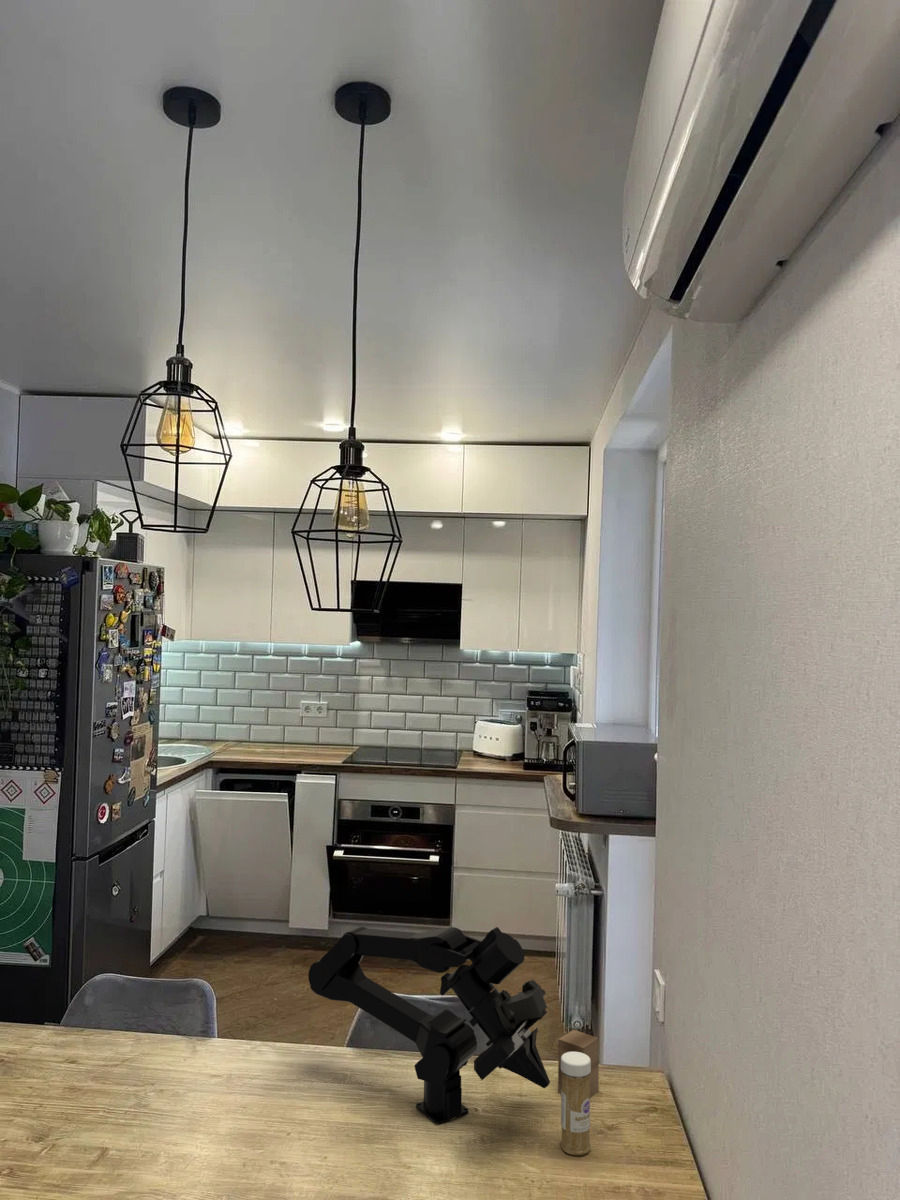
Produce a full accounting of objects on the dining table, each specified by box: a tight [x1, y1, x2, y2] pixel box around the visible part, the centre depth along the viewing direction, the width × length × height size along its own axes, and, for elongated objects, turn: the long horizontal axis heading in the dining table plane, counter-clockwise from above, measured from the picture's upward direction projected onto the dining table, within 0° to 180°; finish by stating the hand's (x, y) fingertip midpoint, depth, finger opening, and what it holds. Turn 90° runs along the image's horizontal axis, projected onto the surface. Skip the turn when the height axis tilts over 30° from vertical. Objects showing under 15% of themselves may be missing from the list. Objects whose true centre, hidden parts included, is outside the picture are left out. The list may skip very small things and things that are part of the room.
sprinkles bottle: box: [560, 1052, 591, 1156], centre depth 129 cm, size 5×5×14 cm
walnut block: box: [557, 1029, 600, 1099], centre depth 146 cm, size 5×5×9 cm
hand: (547, 1085), depth 131 cm, fingers closed
